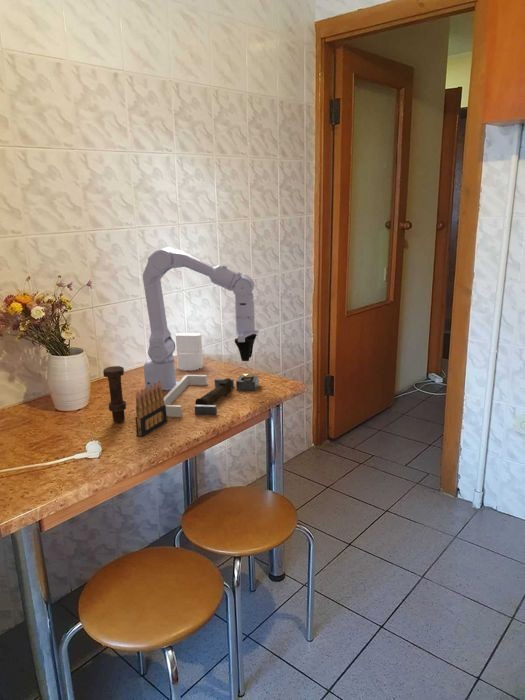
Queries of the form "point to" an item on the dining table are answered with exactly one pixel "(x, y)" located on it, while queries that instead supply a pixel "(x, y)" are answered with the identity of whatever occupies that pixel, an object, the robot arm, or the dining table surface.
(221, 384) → the hand tool
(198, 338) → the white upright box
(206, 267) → the robot arm
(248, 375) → the release plunger
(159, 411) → the ammunition clip
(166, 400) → the white u-shaped bracket
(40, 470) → the dining table surface
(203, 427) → the dining table surface
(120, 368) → the bolt
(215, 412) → the tool holder
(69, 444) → the dining table surface
